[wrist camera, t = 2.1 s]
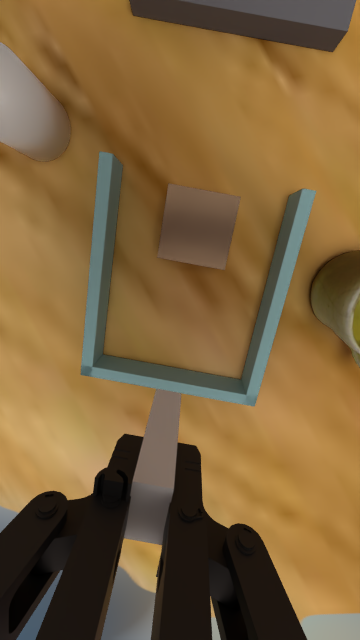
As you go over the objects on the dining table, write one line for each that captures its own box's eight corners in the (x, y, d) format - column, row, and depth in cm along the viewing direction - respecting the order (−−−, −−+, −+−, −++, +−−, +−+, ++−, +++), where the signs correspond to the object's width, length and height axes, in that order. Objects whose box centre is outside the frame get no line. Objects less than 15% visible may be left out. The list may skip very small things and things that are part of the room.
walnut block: (173, 196, 28) (168, 183, 22) (230, 207, 28) (240, 196, 22) (164, 255, 29) (157, 257, 24) (218, 265, 29) (224, 270, 24)
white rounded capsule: (11, 86, 26) (-53, 30, 19) (72, 97, 26) (30, 45, 19) (10, 155, 28) (-49, 126, 21) (68, 166, 28) (28, 140, 21)
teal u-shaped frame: (111, 163, 27) (99, 151, 24) (301, 197, 27) (316, 190, 24) (92, 361, 33) (80, 374, 30) (248, 390, 33) (254, 406, 30)
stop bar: (136, -14, 24) (129, -42, 21) (340, 24, 24) (356, -1, 21) (133, 15, 24) (126, -10, 22) (332, 52, 24) (347, 31, 22)
